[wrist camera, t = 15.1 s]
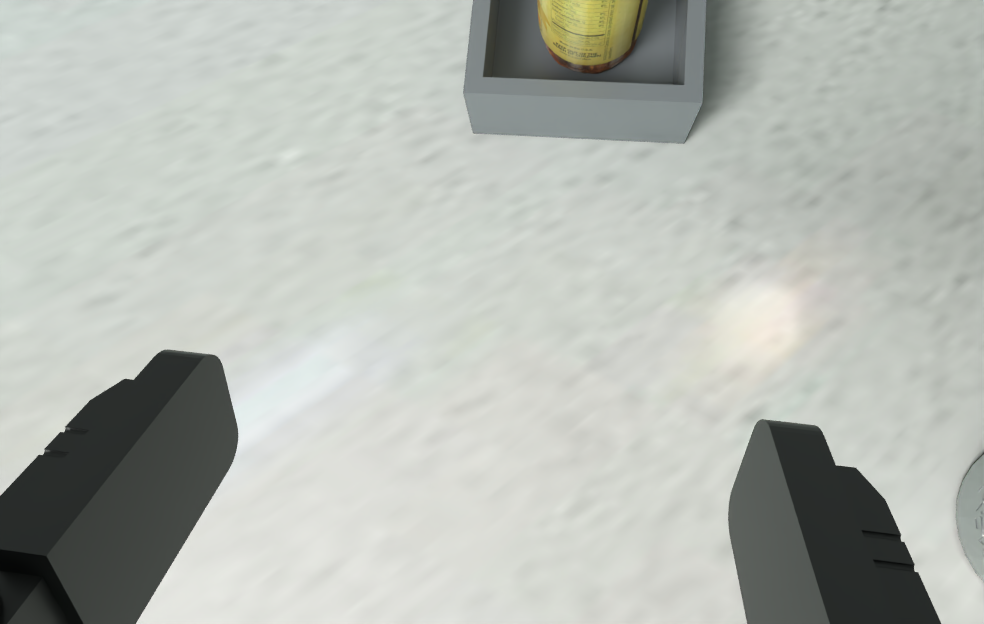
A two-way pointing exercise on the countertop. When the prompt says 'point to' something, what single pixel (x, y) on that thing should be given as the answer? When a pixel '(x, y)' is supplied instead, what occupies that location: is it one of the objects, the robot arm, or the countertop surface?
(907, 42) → the countertop surface
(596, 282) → the countertop surface
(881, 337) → the countertop surface
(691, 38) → the gray tray
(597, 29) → the sauce bottle
